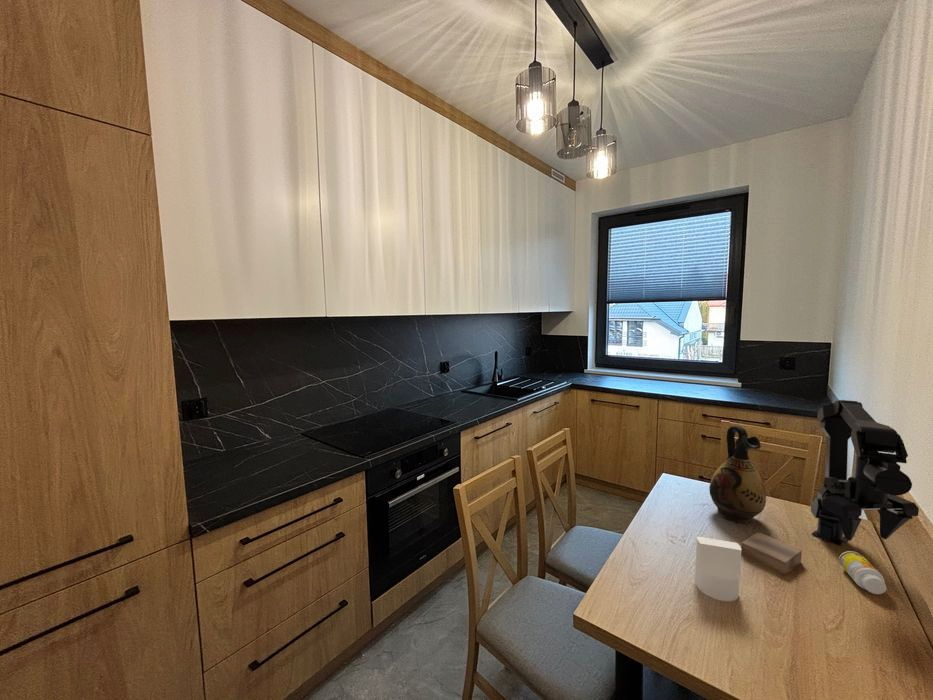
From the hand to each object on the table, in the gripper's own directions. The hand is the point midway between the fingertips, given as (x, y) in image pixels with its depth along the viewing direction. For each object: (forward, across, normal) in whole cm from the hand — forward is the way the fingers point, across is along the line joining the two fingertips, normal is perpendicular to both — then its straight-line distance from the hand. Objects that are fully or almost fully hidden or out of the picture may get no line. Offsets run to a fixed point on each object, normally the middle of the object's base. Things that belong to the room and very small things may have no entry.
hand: (865, 538), depth 92 cm
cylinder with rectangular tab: (+12, +37, 0) cm, 39 cm away
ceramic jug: (+12, +7, -34) cm, 36 cm away
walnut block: (+12, +14, -11) cm, 22 cm away
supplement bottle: (+9, -3, -5) cm, 11 cm away
